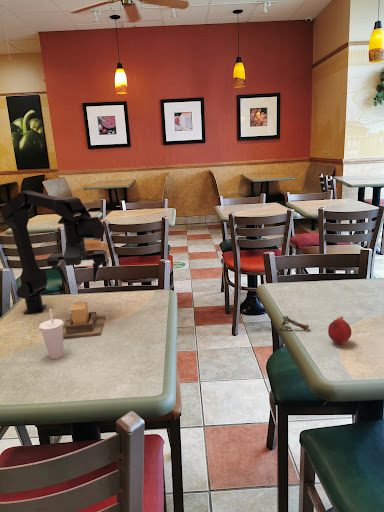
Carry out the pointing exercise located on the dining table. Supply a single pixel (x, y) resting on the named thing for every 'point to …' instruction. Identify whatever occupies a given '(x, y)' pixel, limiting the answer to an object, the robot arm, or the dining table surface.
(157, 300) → the dining table surface
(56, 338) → the smoothie
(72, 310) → the tan rectangular block
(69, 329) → the chassis
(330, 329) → the onion
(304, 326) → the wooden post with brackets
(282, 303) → the dining table surface
